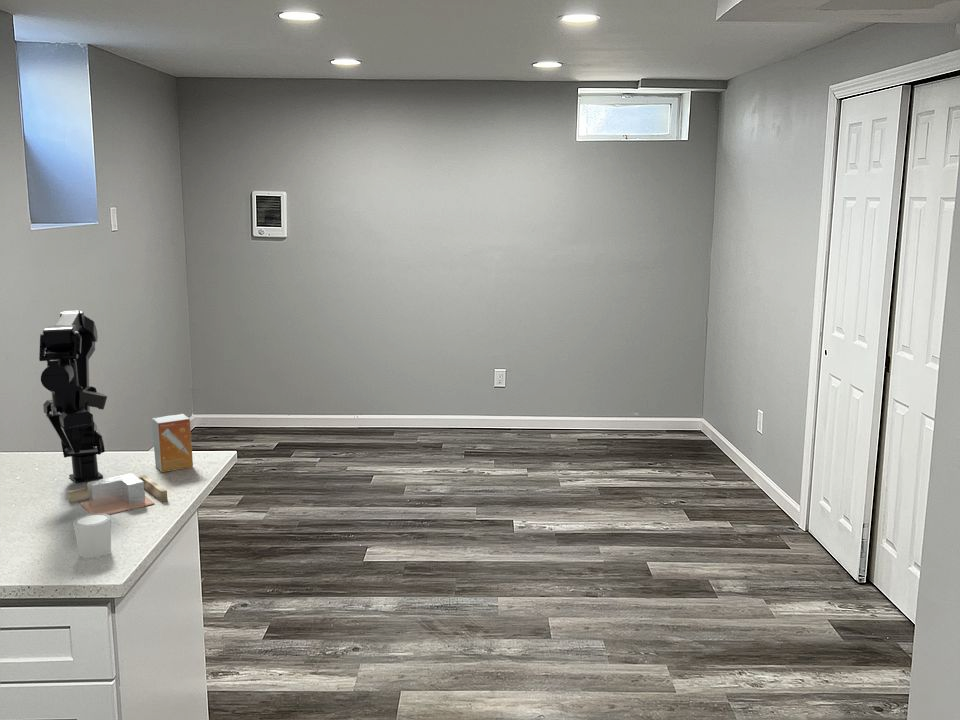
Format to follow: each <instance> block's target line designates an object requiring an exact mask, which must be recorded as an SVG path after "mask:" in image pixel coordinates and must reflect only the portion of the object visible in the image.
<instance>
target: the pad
mask: <svg viewBox="0 0 960 720" xmlns="http://www.w3.org/2000/svg"><path fill="white" fill-rule="evenodd" d="M148 505H149V506H154V505H155V501H152V500H151V499H150V498H149V497H147V496H146V495H145V503H142V504H138V505H133V506H129V505H128V504H126V503H125V502H124V501H121V502H117V503H112V504H108V505H103V506H99V507H93V506H91V505H90V504H89V500H87V501H85V502H84V501H83V502H80V506H82V507H83V508H84V509H85V510H86V512H88V513H89V515H90V514H107V515H109V514H110V515H114V514H118V512H119V513H122V512H121V511H123V512H126V511H125V510H128V511H130V509H132V510H135V509H134V508H136V509H140V508H139V507H141V508H144V506H145V507H149V506H148ZM113 513H114V514H113Z"/></svg>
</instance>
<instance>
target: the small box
mask: <svg viewBox="0 0 960 720" xmlns="http://www.w3.org/2000/svg"><path fill="white" fill-rule="evenodd" d="M151 424H152V425H151V426H152V438H153V451H154V461H155V468H157V469H158V470H159V471H160V473H166V472H170V471H178V470H185V469H190V468H193V467H194V464H193V463H194V461H193V459H194V458H193V446H192V433H191V418H190V417H188V416H187V415H186V414H184V413H180V414H173V415H172V414H171V415H166V416H165V415H164V416H159V417H152V418H151Z"/></svg>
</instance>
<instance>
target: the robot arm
mask: <svg viewBox="0 0 960 720" xmlns="http://www.w3.org/2000/svg"><path fill="white" fill-rule="evenodd" d="M98 338H99V337H98V330H97V325H96V324H95V321H94V320H92V319H91V318H89V317H87V316H85V314H84V311H82V310H80V309H78V310H64V311H60V314H59V319H58V320H57V322H56V324H55V325H52V326H46V327H44V328H43V330H42V333H41V332H40V335H39V357H38V360H39V362H46V363H47V364H46V365H47V367H46V368H44V370H43V371H41V375H40V382H41V384H42V386H43V387H44V388H45V389H46V390H48V391H49V392H50V393H51V399H47V400H46V401H45V402H44V403H43V404H42V406H43V408H42V409H43V413H44V414H45V417H46V418H47V419H48V421H49V423H50V424H51V426H52V427H53V429H54V430H55V433H56V434H57V437H59V439H60V442H61V449H62V454H63V458H69V457H70V458H71V465H72V466H71V467H72V468H71V469H72V474H70V473H69V474H68V476H69V478H70V479H71V480H72V481H73V482H74V483H76V484H77V483H82V482H89V481H92V480H93V481H94V480H99V479H103V478H104V474H102V473H101V472H100V471H99V468H98V467H99V466H98V456H97V455H99V456H100V455H102V454H103V453H105V452H106V449H105V441H104V439H103V435H101V432H100V430H98V426H97V424H96V423H95V421H94V414H93V413H91V409H90V407H91V408H95V409H97V408H98V409H99V410H105V405H106V402H107V400H108V396H107V395H105V394H104V393H101V392H99V391H97V388H96V387H95V386H91V385H90V364H89V363H90V359H91V357H92V356H93V354H94V352H95V350H96V343H98Z"/></svg>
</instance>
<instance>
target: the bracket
mask: <svg viewBox="0 0 960 720" xmlns="http://www.w3.org/2000/svg"><path fill="white" fill-rule="evenodd" d="M86 482H87V483H86V484H87V485H86V487H88V497H89V499H88V501H89V504H90V505H91V506H93V507H99V506H103V505H108V504H112V503H117V502H121V501H124V502H125V503H126V504H128V505H129V506H133V505H138V504H142V503H145V496H146V493H145V489H144V482H143V481H142V480H141V479H139V478H138V476H136V475H135V474H134V473H127V474H123V475H117V476H111V477H108V478H100V479H95V480H93V481H92V480H91V481H86Z"/></svg>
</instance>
